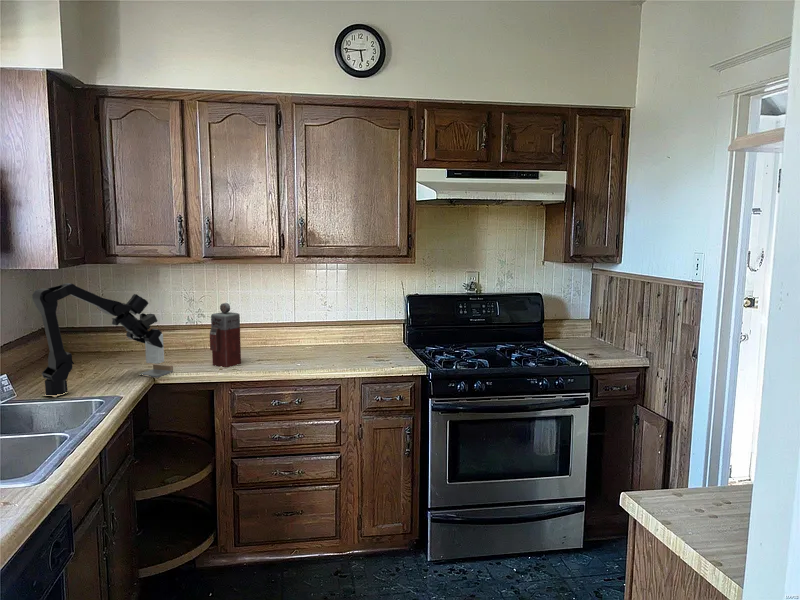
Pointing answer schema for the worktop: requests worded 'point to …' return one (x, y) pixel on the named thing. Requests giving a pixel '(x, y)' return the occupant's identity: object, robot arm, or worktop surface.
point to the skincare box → (154, 352)
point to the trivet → (159, 370)
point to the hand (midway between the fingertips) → (157, 345)
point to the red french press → (225, 337)
